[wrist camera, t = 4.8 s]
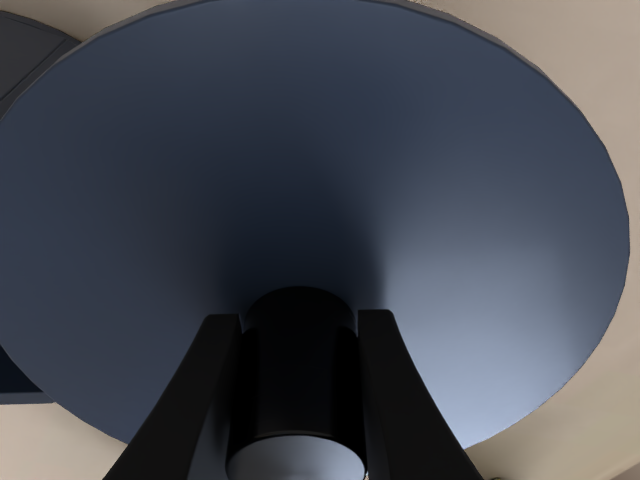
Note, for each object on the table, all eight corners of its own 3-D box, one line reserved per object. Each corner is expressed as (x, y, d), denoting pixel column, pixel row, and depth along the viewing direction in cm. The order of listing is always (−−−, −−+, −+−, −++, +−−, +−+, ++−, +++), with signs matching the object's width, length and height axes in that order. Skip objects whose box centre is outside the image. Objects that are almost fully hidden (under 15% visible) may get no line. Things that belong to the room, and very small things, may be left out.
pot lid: (533, 440, 16) (589, 606, 13) (99, 451, 17) (43, 617, 13) (719, -47, 8) (1017, 62, 5) (-157, -9, 8) (-485, 120, 5)
